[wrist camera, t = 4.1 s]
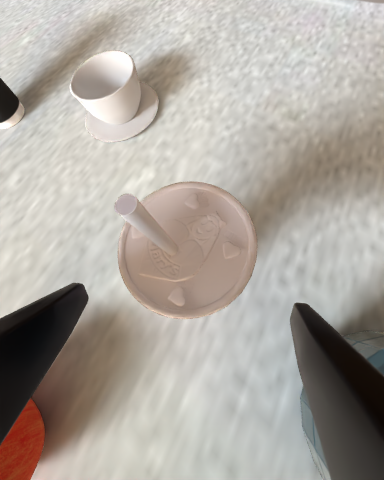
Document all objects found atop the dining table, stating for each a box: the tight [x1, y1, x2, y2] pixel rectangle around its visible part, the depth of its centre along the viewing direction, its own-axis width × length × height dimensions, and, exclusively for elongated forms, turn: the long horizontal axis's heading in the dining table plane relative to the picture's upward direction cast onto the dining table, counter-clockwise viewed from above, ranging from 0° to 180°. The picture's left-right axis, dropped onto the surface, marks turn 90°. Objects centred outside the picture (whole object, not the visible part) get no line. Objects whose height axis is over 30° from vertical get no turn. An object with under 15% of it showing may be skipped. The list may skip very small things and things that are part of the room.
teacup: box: [70, 50, 159, 142], centre depth 23 cm, size 10×10×5 cm
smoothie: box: [115, 182, 257, 319], centre depth 11 cm, size 6×6×14 cm
